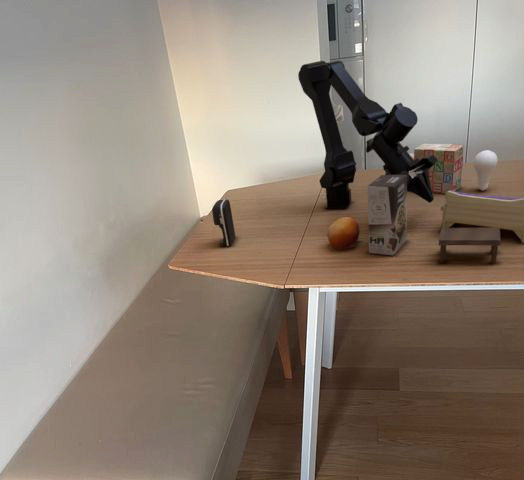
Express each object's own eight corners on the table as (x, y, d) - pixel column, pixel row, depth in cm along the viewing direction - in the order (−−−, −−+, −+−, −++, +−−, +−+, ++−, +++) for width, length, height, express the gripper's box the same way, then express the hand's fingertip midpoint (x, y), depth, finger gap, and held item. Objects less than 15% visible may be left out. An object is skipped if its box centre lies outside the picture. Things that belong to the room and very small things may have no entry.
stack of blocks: (386, 188, 162) (385, 147, 155) (395, 182, 165) (395, 142, 159) (452, 194, 149) (455, 150, 142) (461, 187, 153) (464, 144, 146)
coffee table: (437, 263, 113) (439, 240, 110) (440, 250, 118) (441, 228, 115) (497, 264, 109) (500, 240, 106) (497, 251, 114) (499, 227, 111)
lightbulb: (470, 193, 147) (473, 154, 141) (472, 187, 152) (475, 148, 146) (494, 193, 145) (498, 152, 139) (494, 186, 149) (498, 147, 143)
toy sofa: (541, 230, 120) (548, 186, 114) (528, 244, 115) (535, 199, 109) (453, 220, 133) (456, 180, 127) (438, 232, 127) (440, 191, 122)
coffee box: (394, 256, 119) (394, 186, 111) (368, 253, 123) (366, 185, 114) (407, 241, 126) (408, 174, 117) (382, 239, 129) (381, 173, 120)
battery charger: (223, 238, 145) (215, 198, 139) (236, 237, 144) (229, 197, 138) (217, 248, 139) (209, 206, 133) (231, 247, 139) (223, 205, 133)
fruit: (367, 245, 123) (348, 218, 121) (339, 262, 127) (320, 236, 124) (368, 232, 130) (350, 207, 127) (342, 249, 134) (324, 224, 131)
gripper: (390, 164, 140) (427, 208, 140) (352, 185, 130) (392, 233, 129) (418, 134, 131) (457, 181, 131) (380, 154, 121) (422, 205, 120)
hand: (431, 201), depth 128 cm, fingers closed
